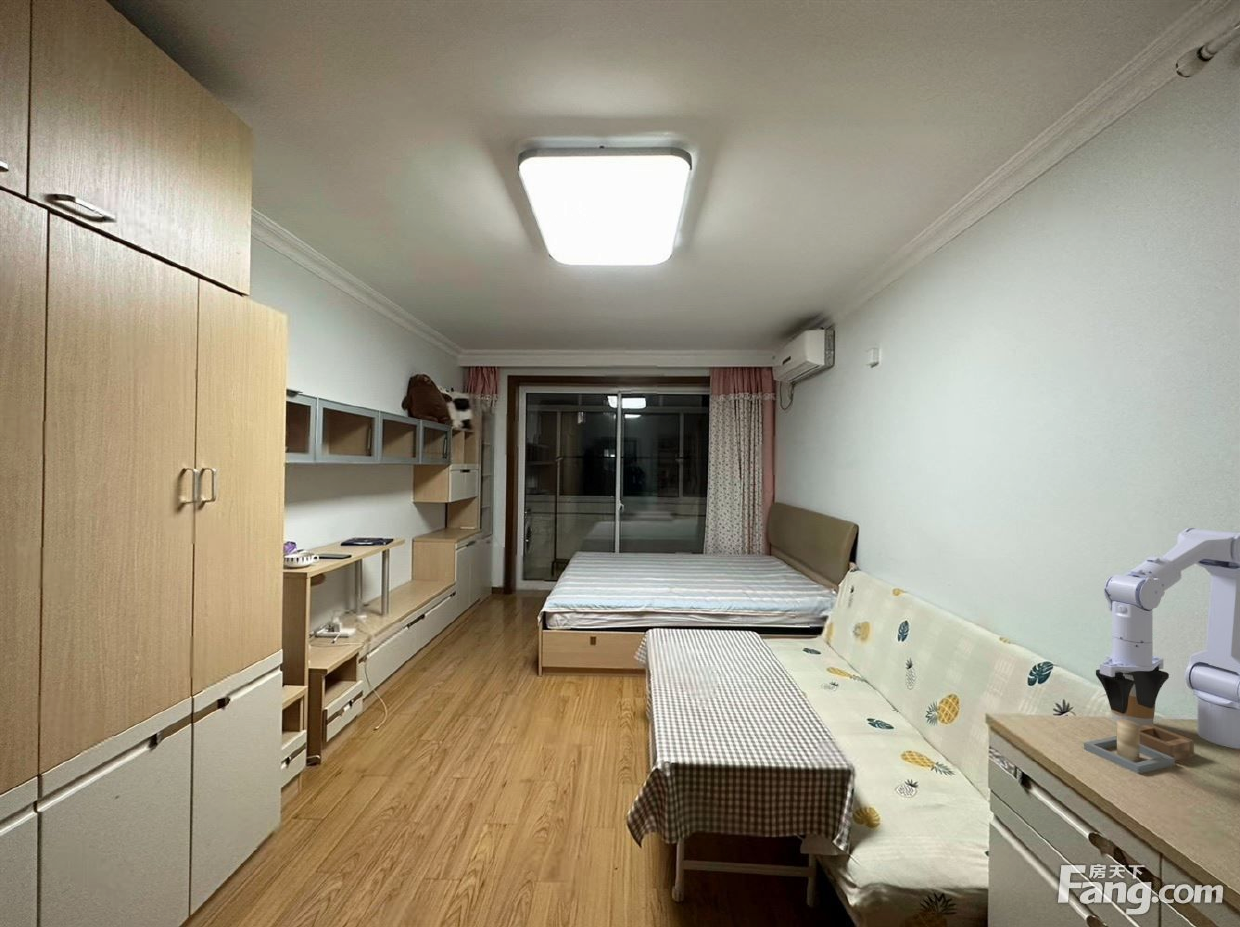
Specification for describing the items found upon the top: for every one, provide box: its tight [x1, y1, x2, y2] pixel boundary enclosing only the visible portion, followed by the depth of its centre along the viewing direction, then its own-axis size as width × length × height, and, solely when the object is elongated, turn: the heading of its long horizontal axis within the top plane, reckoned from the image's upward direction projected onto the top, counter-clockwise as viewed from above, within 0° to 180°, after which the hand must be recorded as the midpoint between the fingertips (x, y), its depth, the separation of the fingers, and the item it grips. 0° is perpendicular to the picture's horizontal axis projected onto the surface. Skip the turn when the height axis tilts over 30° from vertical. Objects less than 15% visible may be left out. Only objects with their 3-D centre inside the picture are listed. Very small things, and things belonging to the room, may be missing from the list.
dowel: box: [1116, 719, 1140, 763], centre depth 106 cm, size 3×3×7 cm
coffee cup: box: [1110, 672, 1156, 726], centre depth 119 cm, size 8×8×15 cm
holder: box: [1139, 724, 1195, 762], centre depth 109 cm, size 7×7×4 cm
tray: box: [1083, 735, 1176, 775], centre depth 106 cm, size 10×9×2 cm
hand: (1132, 708), depth 106 cm, fingers open, 7 cm apart
